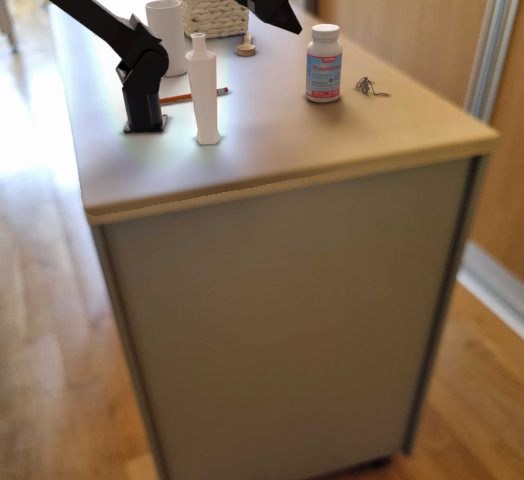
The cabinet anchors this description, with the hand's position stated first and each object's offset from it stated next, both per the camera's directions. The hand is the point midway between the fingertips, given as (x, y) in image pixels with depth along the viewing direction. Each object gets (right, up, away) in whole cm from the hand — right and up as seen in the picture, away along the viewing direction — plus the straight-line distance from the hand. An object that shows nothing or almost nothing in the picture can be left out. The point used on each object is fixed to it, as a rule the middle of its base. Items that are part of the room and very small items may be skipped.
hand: (289, 24), depth 92 cm
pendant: (+15, -5, +12) cm, 20 cm away
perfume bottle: (-13, -19, -2) cm, 23 cm away
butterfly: (-42, +29, +51) cm, 72 cm away
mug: (-23, +5, +24) cm, 34 cm away
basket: (-17, +26, +47) cm, 56 cm away
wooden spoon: (-8, +14, +34) cm, 37 cm away
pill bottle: (+6, -8, +10) cm, 14 cm away
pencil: (-20, -8, +11) cm, 24 cm away
